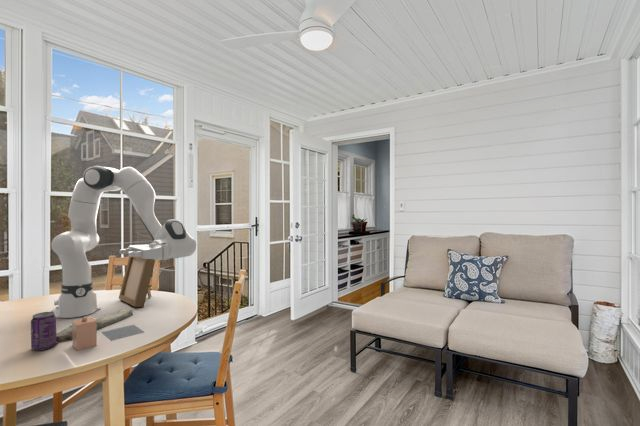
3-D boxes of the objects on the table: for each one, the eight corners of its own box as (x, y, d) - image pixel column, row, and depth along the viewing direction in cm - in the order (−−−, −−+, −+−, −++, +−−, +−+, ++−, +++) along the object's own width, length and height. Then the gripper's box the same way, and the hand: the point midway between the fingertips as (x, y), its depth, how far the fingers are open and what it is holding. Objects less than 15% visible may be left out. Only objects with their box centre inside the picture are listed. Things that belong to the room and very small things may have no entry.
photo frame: (134, 308, 169) (135, 258, 169) (118, 300, 183) (119, 253, 183) (164, 302, 180) (165, 255, 180) (147, 295, 195) (147, 251, 194)
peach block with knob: (72, 347, 124) (72, 317, 124) (91, 342, 129) (91, 313, 128) (76, 352, 120) (76, 321, 120) (96, 347, 125) (96, 317, 124)
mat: (101, 333, 137) (101, 332, 137) (133, 326, 146) (133, 324, 146) (111, 342, 129) (111, 340, 129) (144, 333, 138) (144, 332, 138)
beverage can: (40, 343, 127) (40, 311, 127) (61, 343, 128) (60, 311, 127) (25, 351, 120) (25, 317, 120) (47, 351, 121) (47, 317, 120)
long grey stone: (139, 319, 160) (121, 318, 162) (139, 307, 160) (121, 306, 162) (66, 344, 126) (45, 342, 128) (66, 329, 126) (45, 328, 129)
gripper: (149, 240, 156) (115, 243, 146) (169, 244, 142) (133, 247, 132) (149, 254, 156) (115, 257, 146) (169, 260, 142) (133, 264, 132)
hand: (124, 253), depth 139 cm, fingers open, 8 cm apart
